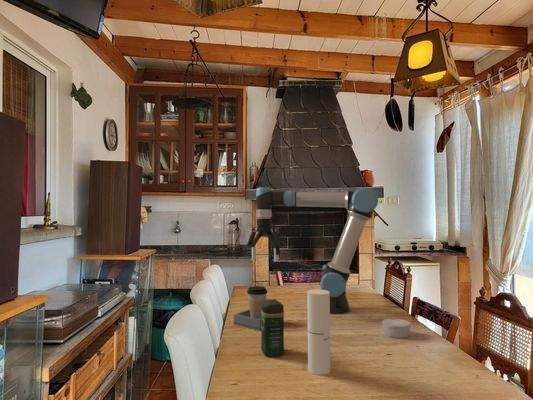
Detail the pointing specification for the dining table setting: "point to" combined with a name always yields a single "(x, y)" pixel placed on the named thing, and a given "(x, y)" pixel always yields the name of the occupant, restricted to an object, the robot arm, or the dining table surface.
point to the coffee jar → (272, 327)
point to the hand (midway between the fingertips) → (265, 260)
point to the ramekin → (396, 328)
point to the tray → (247, 320)
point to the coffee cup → (256, 300)
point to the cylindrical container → (318, 331)
